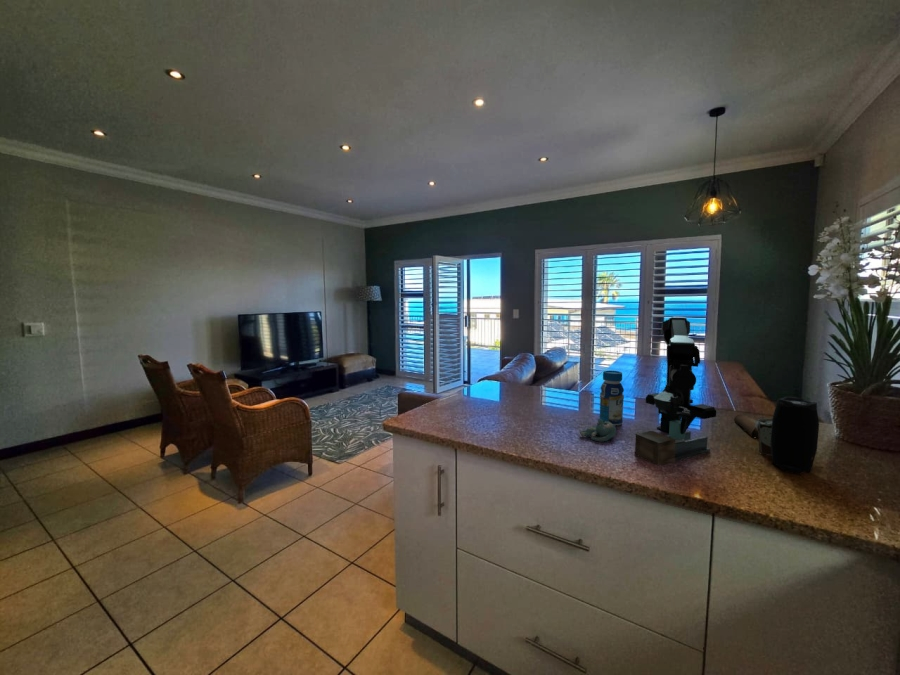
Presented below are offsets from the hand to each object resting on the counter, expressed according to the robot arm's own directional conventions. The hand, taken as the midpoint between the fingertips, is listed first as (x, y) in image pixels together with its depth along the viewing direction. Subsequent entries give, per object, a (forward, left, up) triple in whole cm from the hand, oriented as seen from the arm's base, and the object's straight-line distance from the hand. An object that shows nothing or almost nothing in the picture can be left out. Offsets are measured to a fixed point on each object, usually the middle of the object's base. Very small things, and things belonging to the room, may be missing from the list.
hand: (677, 432), depth 111 cm
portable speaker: (-19, +20, -7) cm, 28 cm away
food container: (-28, +12, -7) cm, 31 cm away
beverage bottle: (-4, -29, -7) cm, 30 cm away
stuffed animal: (+12, -19, -7) cm, 24 cm away
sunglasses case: (-44, -1, -7) cm, 45 cm away
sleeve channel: (-2, 0, -6) cm, 7 cm away
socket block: (+10, 0, -6) cm, 12 cm away
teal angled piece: (+5, 0, -5) cm, 7 cm away
